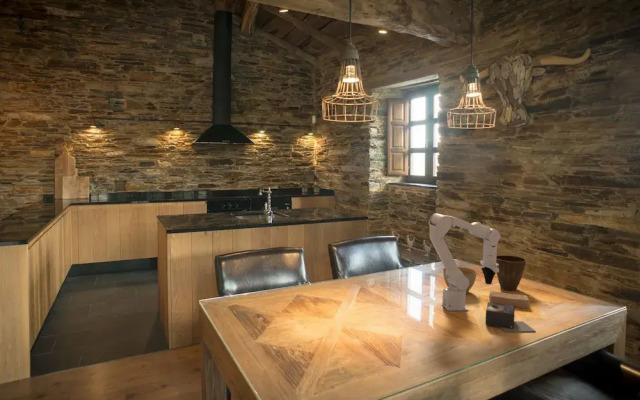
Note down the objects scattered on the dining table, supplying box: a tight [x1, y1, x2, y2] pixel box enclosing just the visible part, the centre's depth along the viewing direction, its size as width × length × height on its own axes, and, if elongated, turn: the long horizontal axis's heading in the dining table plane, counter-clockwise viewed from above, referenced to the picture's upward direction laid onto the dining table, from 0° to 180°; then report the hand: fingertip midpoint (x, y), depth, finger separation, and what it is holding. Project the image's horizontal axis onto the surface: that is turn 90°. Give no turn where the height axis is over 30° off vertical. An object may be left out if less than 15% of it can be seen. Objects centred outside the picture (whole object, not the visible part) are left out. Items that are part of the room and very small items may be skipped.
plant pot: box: [496, 254, 527, 292], centre depth 216 cm, size 15×15×16 cm
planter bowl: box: [442, 266, 478, 294], centre depth 210 cm, size 16×16×11 cm
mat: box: [499, 320, 536, 333], centre depth 166 cm, size 12×10×1 cm
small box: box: [484, 301, 516, 329], centre depth 170 cm, size 11×6×10 cm
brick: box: [488, 290, 530, 310], centre depth 193 cm, size 17×8×5 cm, turn 71°
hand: (488, 283), depth 189 cm, fingers closed
